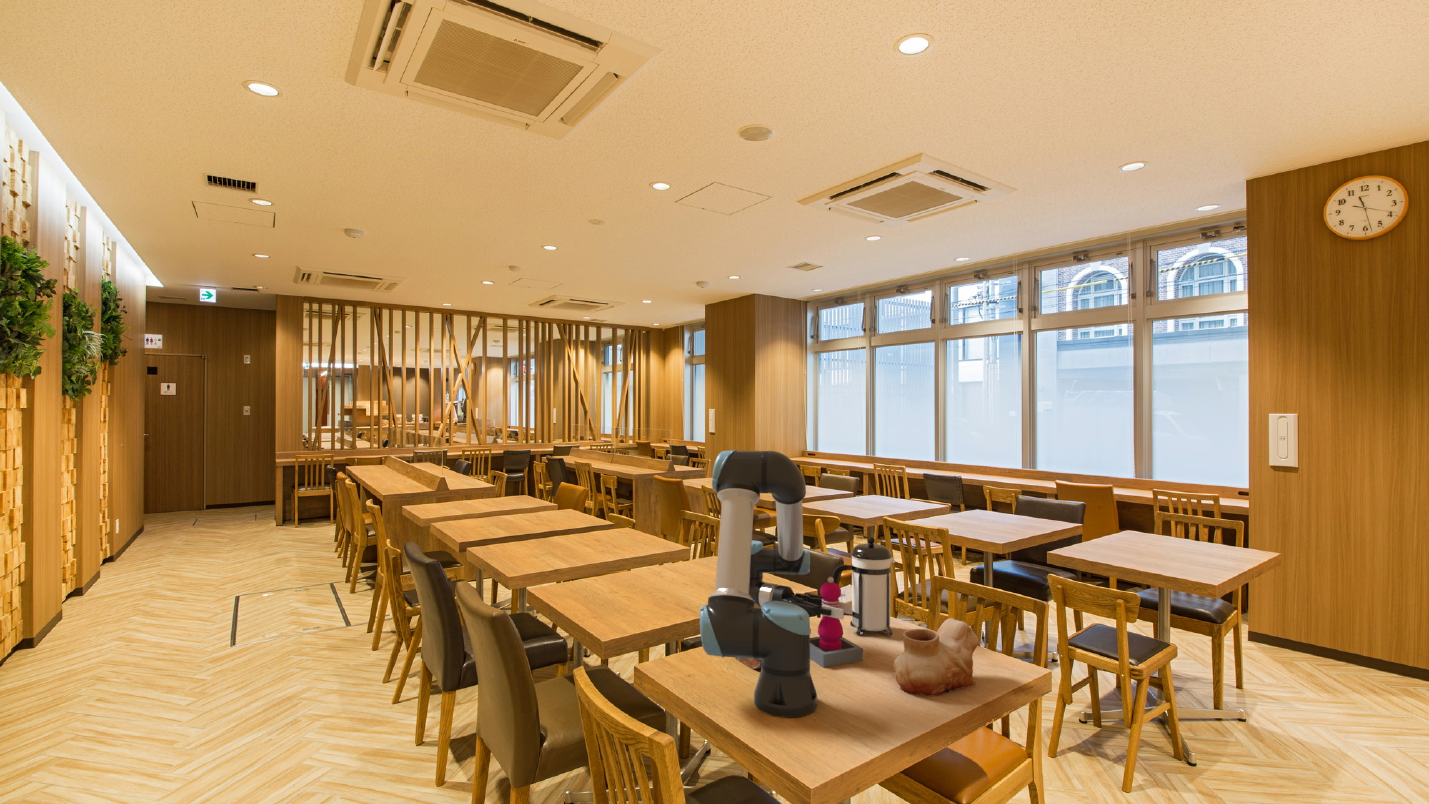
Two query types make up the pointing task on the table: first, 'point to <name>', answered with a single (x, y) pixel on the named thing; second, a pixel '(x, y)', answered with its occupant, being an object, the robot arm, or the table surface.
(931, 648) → the ceramic vessel
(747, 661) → the tin
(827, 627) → the pepper mill
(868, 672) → the table surface
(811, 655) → the charcoal tray
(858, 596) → the coffee press
